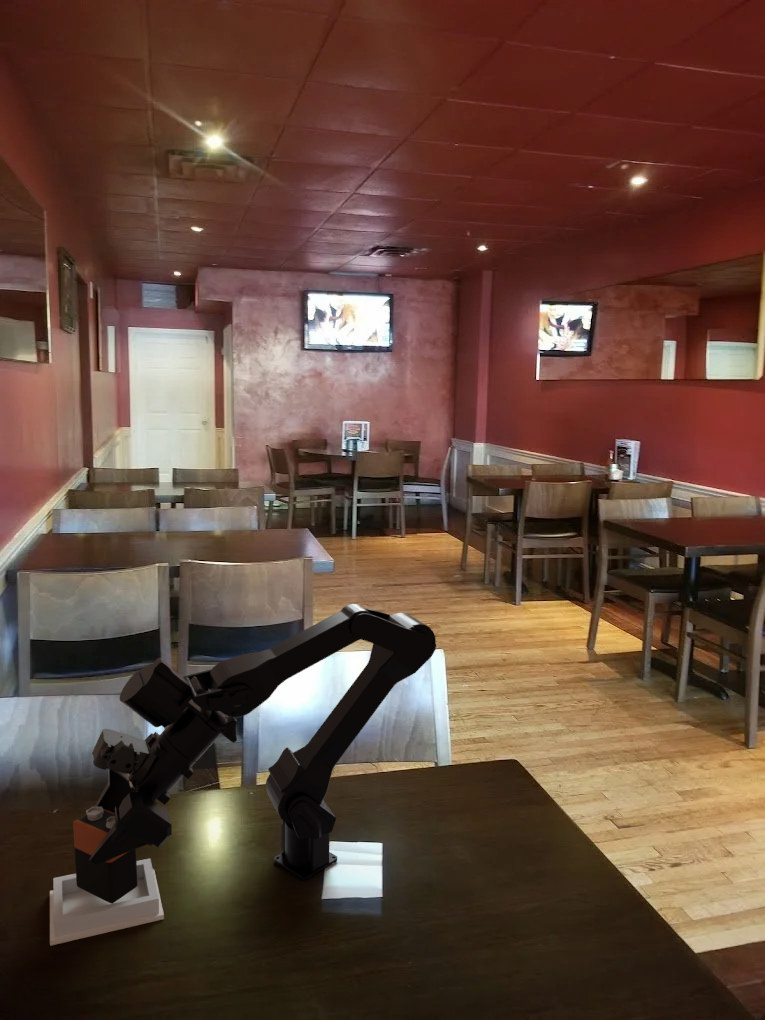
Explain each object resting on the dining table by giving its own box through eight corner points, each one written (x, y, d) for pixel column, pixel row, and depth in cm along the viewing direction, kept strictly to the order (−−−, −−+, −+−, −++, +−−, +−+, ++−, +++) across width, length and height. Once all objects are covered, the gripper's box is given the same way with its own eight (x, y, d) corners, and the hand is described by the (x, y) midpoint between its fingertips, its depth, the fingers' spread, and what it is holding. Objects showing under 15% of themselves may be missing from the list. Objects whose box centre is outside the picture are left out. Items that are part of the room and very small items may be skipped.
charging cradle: (154, 873, 107) (153, 855, 106) (163, 919, 98) (163, 899, 97) (50, 895, 102) (49, 876, 101) (50, 945, 93) (49, 925, 92)
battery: (103, 870, 103) (99, 798, 101) (139, 887, 100) (136, 813, 98) (74, 887, 99) (70, 814, 98) (111, 906, 96) (107, 830, 94)
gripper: (125, 683, 106) (39, 773, 103) (140, 740, 89) (37, 851, 86) (186, 730, 110) (104, 818, 107) (211, 794, 93) (115, 900, 90)
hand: (90, 843), depth 98 cm, fingers open, 8 cm apart
